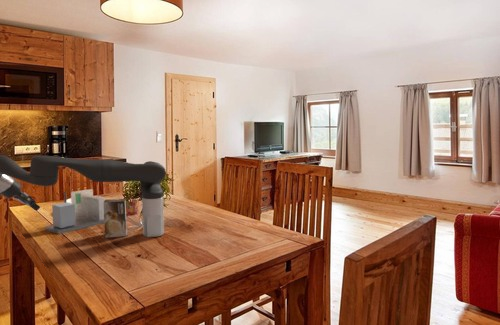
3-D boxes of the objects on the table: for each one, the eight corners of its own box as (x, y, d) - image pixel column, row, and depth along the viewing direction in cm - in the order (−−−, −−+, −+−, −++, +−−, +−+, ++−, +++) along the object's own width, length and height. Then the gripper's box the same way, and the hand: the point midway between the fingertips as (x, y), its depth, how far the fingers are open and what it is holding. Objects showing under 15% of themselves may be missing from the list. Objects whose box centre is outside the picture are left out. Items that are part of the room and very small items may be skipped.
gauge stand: (58, 234, 158) (56, 199, 157) (45, 229, 165) (43, 196, 164) (106, 222, 178) (105, 191, 176) (92, 218, 185) (91, 189, 183)
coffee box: (127, 232, 163) (126, 198, 161) (126, 236, 156) (125, 201, 155) (106, 233, 160) (105, 199, 159) (104, 238, 154) (103, 202, 152)
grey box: (60, 228, 162) (59, 196, 160) (52, 225, 166) (50, 194, 164) (75, 224, 167) (74, 193, 166) (67, 222, 172) (65, 192, 170)
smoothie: (120, 214, 195) (119, 178, 193) (132, 211, 202) (131, 176, 200) (131, 216, 191) (130, 180, 189) (142, 213, 198) (142, 178, 196)
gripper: (-9, 190, 147) (25, 213, 158) (4, 193, 140) (39, 218, 151) (5, 176, 151) (37, 200, 162) (19, 179, 143) (51, 203, 155)
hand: (38, 208), depth 156 cm, fingers closed
